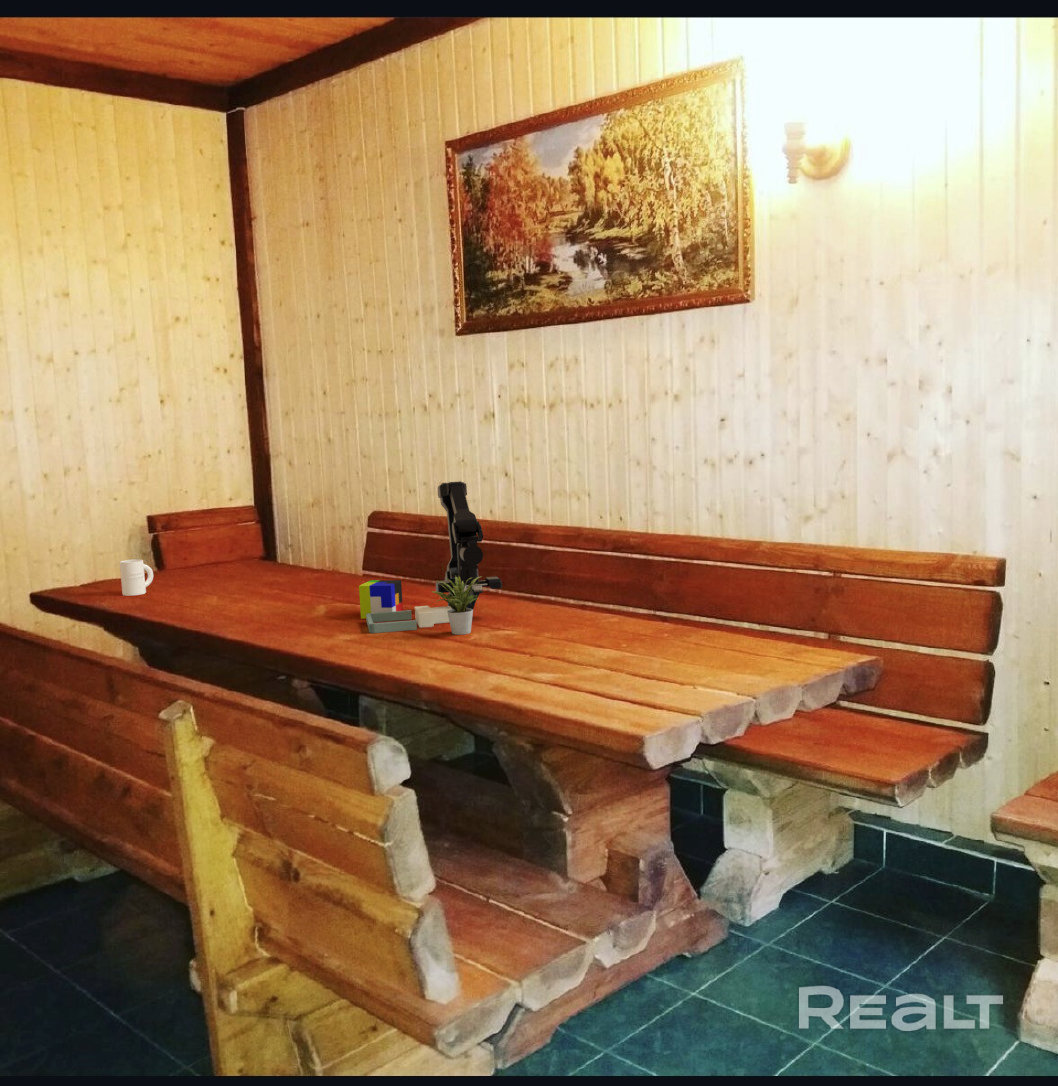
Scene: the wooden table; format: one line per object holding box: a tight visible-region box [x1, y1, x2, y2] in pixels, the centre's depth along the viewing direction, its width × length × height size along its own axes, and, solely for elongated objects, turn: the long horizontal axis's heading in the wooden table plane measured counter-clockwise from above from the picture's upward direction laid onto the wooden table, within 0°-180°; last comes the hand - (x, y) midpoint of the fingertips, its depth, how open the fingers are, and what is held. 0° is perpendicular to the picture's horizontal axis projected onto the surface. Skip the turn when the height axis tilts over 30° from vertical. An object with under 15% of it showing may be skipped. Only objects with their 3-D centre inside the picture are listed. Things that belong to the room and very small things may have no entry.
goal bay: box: [365, 609, 418, 634], centre depth 320 cm, size 13×17×2 cm
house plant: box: [431, 576, 481, 636], centre depth 306 cm, size 14×14×16 cm
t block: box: [414, 605, 452, 629], centre depth 322 cm, size 10×12×4 cm
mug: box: [119, 558, 154, 597], centre depth 401 cm, size 8×12×12 cm
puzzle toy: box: [358, 579, 404, 619], centre depth 337 cm, size 10×10×10 cm
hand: (470, 613), depth 324 cm, fingers closed
